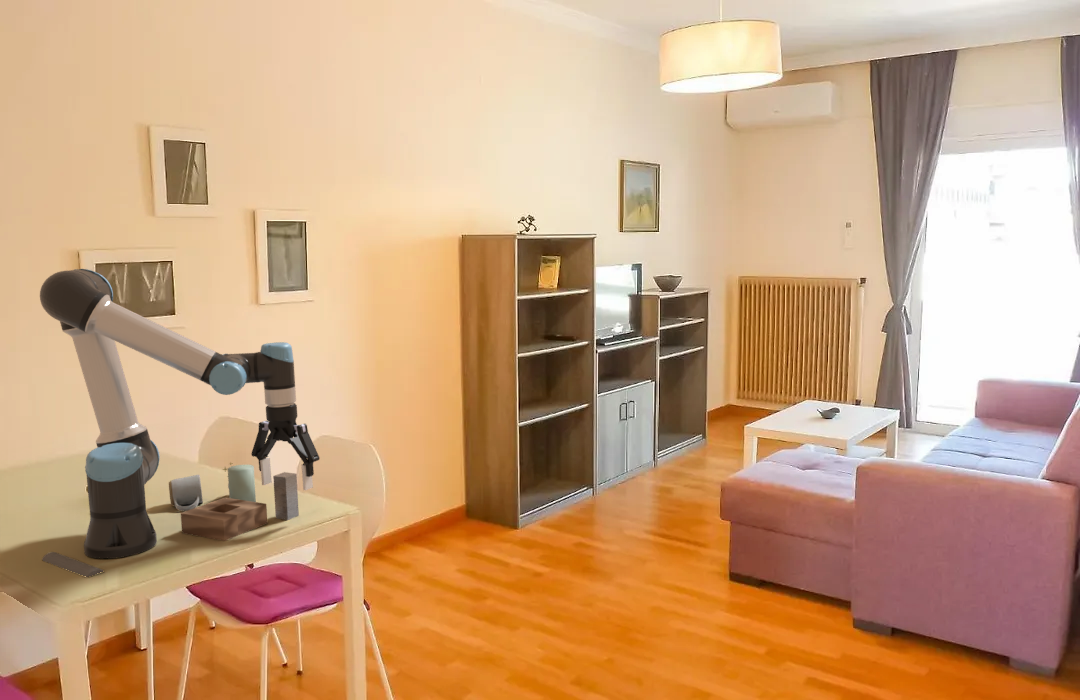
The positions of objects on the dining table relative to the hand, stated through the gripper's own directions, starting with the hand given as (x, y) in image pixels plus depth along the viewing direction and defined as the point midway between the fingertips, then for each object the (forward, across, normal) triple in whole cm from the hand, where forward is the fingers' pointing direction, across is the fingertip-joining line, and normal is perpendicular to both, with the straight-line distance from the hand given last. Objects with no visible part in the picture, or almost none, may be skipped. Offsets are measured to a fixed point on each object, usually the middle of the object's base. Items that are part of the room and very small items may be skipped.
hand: (287, 486), depth 221 cm
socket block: (+8, +8, +13) cm, 18 cm away
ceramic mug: (+8, +32, +3) cm, 33 cm away
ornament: (+8, +26, -9) cm, 29 cm away
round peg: (+8, +16, -1) cm, 18 cm away
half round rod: (+8, +20, +46) cm, 51 cm away
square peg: (+8, 0, 0) cm, 8 cm away
